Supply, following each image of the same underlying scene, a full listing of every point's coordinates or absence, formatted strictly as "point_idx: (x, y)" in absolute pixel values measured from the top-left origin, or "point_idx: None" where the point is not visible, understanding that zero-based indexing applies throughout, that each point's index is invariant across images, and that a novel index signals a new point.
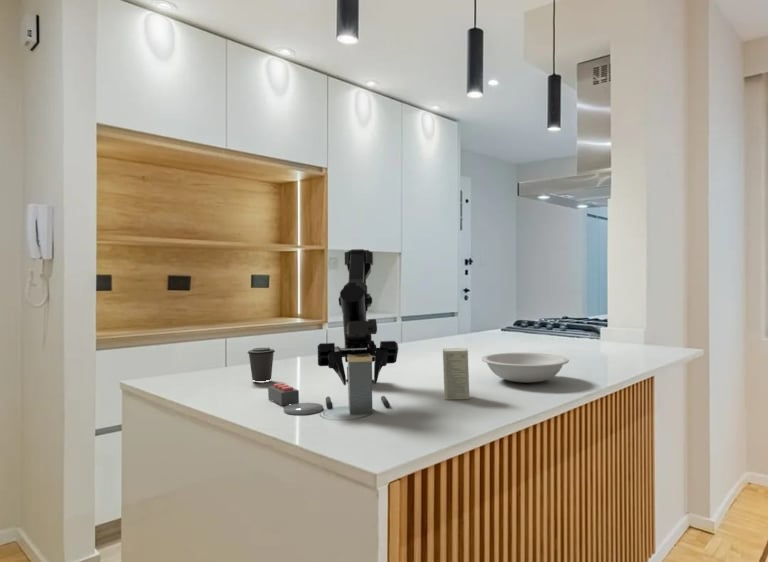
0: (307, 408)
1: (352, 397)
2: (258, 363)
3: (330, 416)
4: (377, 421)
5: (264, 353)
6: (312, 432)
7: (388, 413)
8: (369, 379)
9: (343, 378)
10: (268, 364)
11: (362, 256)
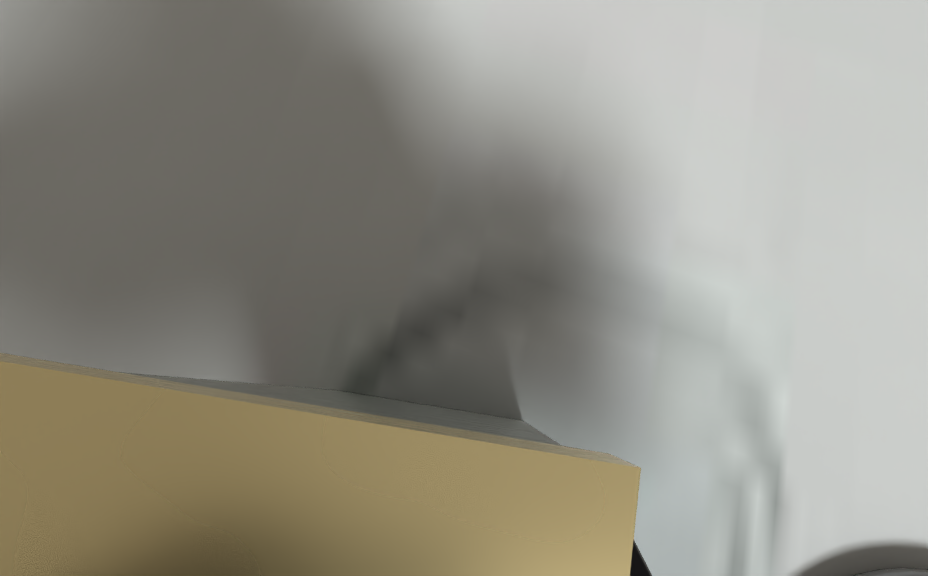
0: None
1: (501, 421)
2: None
3: (694, 427)
4: (372, 158)
5: None
6: (870, 46)
7: (217, 347)
8: (238, 384)
9: (632, 554)
10: None
11: None
